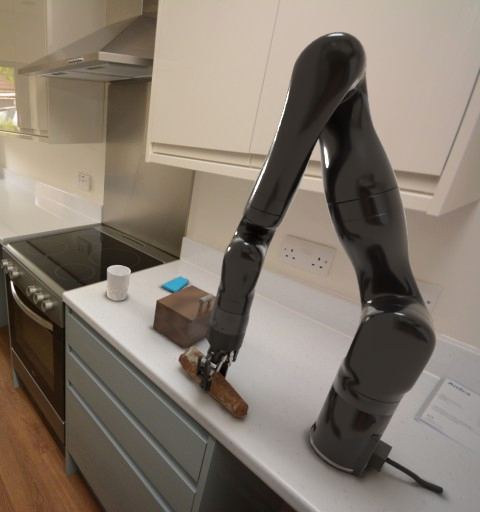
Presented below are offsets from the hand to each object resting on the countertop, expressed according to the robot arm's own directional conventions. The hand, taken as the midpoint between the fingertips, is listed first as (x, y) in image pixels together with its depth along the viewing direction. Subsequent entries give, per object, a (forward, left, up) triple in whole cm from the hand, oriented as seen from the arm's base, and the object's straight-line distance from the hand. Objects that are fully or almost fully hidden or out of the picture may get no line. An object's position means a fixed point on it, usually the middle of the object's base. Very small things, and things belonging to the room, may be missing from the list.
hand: (212, 383), depth 79 cm
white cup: (+45, -10, -2) cm, 46 cm away
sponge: (+38, -34, -2) cm, 51 cm away
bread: (0, 0, -2) cm, 2 cm away
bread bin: (+19, -15, -2) cm, 24 cm away
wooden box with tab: (+18, -15, +7) cm, 25 cm away
